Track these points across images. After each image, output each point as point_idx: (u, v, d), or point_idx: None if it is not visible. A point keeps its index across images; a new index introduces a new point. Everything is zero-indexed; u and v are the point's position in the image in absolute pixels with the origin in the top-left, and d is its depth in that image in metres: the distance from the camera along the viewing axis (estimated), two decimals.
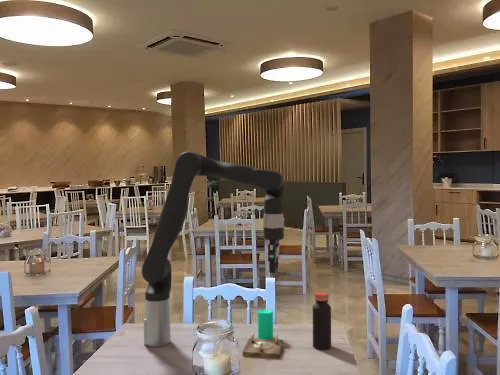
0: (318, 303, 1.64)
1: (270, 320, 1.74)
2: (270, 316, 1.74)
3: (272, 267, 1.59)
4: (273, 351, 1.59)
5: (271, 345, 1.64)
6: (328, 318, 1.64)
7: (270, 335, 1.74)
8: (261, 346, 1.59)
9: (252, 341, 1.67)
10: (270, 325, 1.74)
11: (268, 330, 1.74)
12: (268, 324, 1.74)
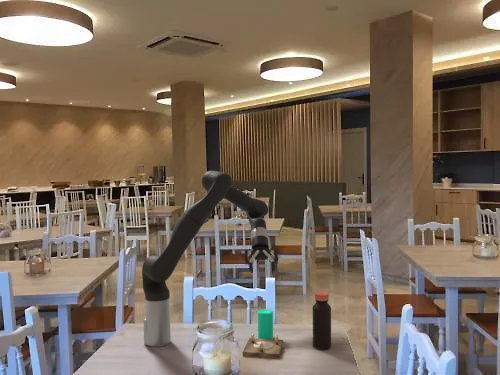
0: (318, 303, 1.64)
1: (270, 320, 1.74)
2: (270, 316, 1.74)
3: None
4: (273, 351, 1.59)
5: (271, 345, 1.64)
6: (328, 318, 1.64)
7: (270, 335, 1.74)
8: (261, 346, 1.59)
9: (252, 341, 1.67)
10: (270, 325, 1.74)
11: (268, 330, 1.74)
12: (268, 324, 1.74)
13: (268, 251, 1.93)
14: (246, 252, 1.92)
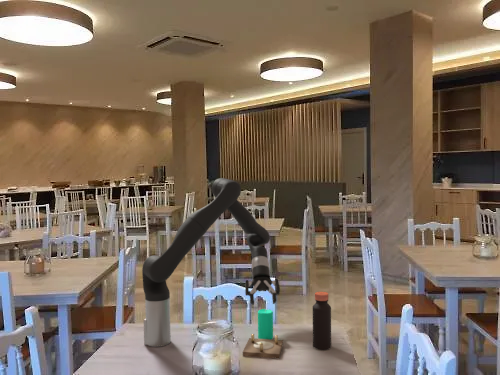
0: (318, 303, 1.64)
1: (270, 320, 1.74)
2: (270, 316, 1.74)
3: None
4: (273, 351, 1.59)
5: (271, 345, 1.64)
6: (328, 318, 1.64)
7: (270, 335, 1.74)
8: (261, 346, 1.59)
9: (252, 341, 1.67)
10: (270, 325, 1.74)
11: (268, 330, 1.74)
12: (268, 324, 1.74)
13: (269, 281, 1.88)
14: (247, 283, 1.87)
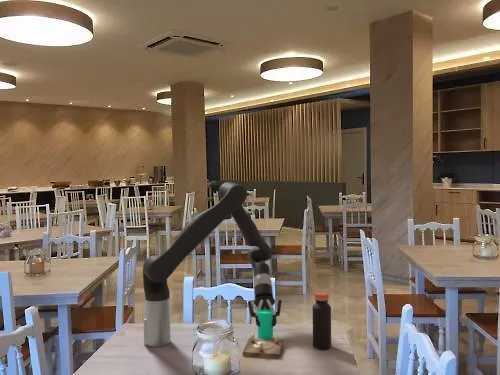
0: (318, 303, 1.64)
1: (270, 320, 1.74)
2: (270, 316, 1.74)
3: None
4: (273, 351, 1.59)
5: (271, 345, 1.64)
6: (328, 318, 1.64)
7: (270, 335, 1.74)
8: (261, 346, 1.59)
9: (252, 341, 1.67)
10: (270, 325, 1.74)
11: (268, 330, 1.74)
12: (268, 324, 1.74)
13: (272, 302, 1.80)
14: (250, 304, 1.79)
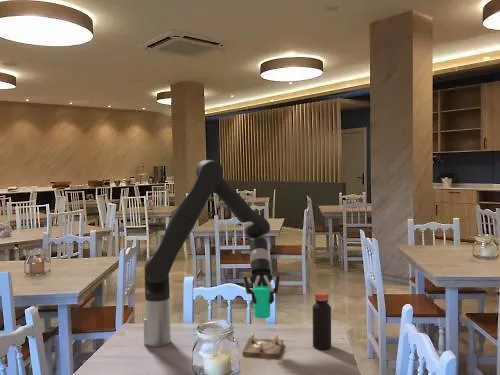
0: (318, 303, 1.64)
1: (267, 297, 1.62)
2: (267, 292, 1.62)
3: (273, 297, 1.64)
4: (273, 351, 1.59)
5: (271, 345, 1.64)
6: (328, 318, 1.64)
7: (267, 313, 1.62)
8: (261, 346, 1.59)
9: (252, 341, 1.67)
10: (267, 302, 1.62)
11: (265, 307, 1.61)
12: (265, 301, 1.61)
13: (270, 278, 1.68)
14: (245, 280, 1.67)
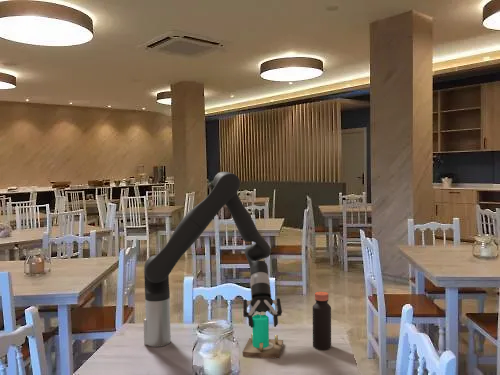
0: (318, 303, 1.64)
1: (266, 326, 1.62)
2: (266, 322, 1.62)
3: (277, 320, 1.65)
4: (273, 351, 1.59)
5: (271, 345, 1.64)
6: (328, 318, 1.64)
7: (266, 342, 1.62)
8: (261, 346, 1.59)
9: (252, 341, 1.67)
10: (266, 332, 1.62)
11: (264, 337, 1.62)
12: (264, 331, 1.62)
13: (270, 301, 1.69)
14: (245, 302, 1.68)
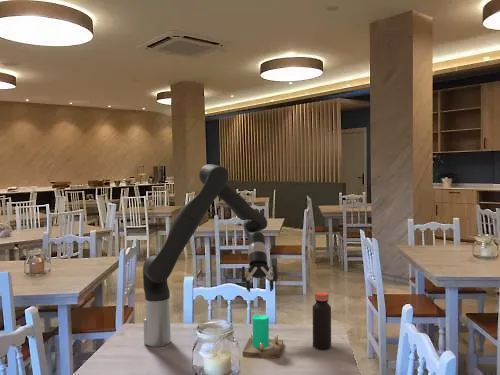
0: (318, 303, 1.64)
1: (266, 326, 1.62)
2: (266, 322, 1.62)
3: (273, 285, 1.77)
4: (273, 351, 1.59)
5: (271, 345, 1.64)
6: (328, 318, 1.64)
7: (266, 342, 1.62)
8: (261, 346, 1.59)
9: (252, 341, 1.67)
10: (266, 332, 1.62)
11: (264, 337, 1.62)
12: (264, 331, 1.62)
13: (266, 268, 1.81)
14: (243, 269, 1.80)
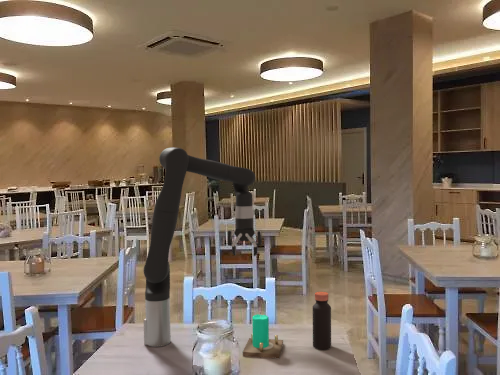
0: (318, 303, 1.64)
1: (266, 326, 1.62)
2: (266, 322, 1.62)
3: (257, 250, 1.87)
4: (273, 351, 1.59)
5: (271, 345, 1.64)
6: (328, 318, 1.64)
7: (266, 342, 1.62)
8: (261, 346, 1.59)
9: (252, 341, 1.67)
10: (266, 332, 1.62)
11: (264, 337, 1.62)
12: (264, 331, 1.62)
13: (251, 233, 1.86)
14: (229, 234, 1.87)
